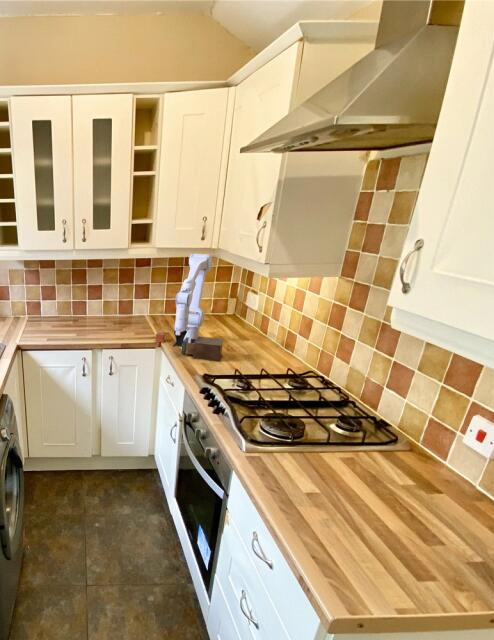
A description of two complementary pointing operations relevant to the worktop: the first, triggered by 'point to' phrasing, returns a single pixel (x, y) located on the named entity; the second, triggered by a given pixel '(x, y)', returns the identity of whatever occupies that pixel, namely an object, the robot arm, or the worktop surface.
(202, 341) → the cabinet
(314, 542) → the worktop surface
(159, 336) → the block
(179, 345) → the drawer
